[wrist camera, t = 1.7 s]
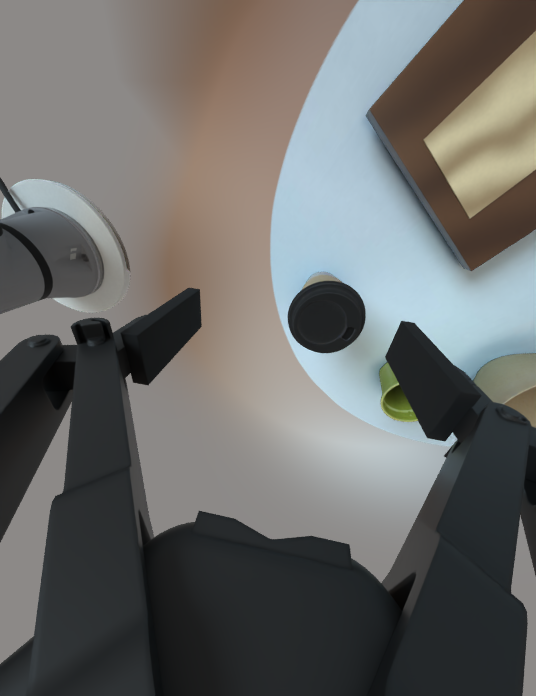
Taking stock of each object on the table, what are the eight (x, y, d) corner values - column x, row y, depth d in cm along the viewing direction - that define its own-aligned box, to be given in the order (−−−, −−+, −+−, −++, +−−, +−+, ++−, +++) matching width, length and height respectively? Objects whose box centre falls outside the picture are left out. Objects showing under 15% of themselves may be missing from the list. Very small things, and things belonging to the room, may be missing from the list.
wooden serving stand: (361, 121, 29) (369, 108, 25) (512, -52, 22) (552, -103, 18) (455, 265, 35) (472, 271, 32) (595, 170, 28) (637, 164, 25)
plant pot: (373, 393, 50) (384, 425, 42) (366, 357, 46) (377, 385, 38) (422, 385, 47) (443, 418, 40) (420, 346, 43) (443, 375, 36)
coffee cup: (348, 312, 42) (365, 357, 29) (295, 315, 43) (290, 359, 31) (350, 256, 37) (372, 281, 24) (291, 263, 39) (282, 289, 26)
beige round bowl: (542, 309, 37) (634, 348, 26) (581, 379, 42) (671, 436, 31) (427, 367, 45) (463, 415, 35) (471, 421, 50) (513, 476, 39)
